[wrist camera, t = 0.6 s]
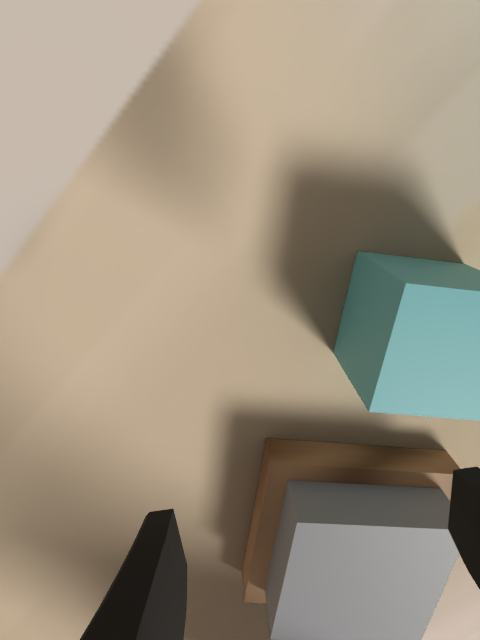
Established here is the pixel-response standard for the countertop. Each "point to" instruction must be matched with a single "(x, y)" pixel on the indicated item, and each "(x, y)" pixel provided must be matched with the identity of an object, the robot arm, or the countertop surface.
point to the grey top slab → (358, 561)
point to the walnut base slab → (334, 467)
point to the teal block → (412, 336)
